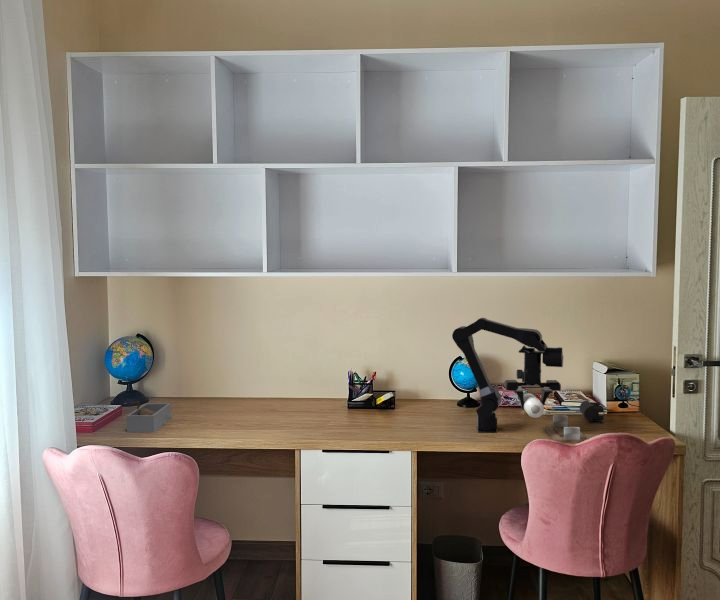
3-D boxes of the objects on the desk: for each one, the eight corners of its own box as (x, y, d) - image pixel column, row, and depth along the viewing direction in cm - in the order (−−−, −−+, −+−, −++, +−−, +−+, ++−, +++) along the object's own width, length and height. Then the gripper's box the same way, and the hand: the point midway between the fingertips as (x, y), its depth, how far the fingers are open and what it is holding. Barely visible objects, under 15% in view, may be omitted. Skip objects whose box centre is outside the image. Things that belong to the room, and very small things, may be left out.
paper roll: (525, 416, 242) (528, 399, 242) (518, 408, 255) (521, 391, 254) (542, 419, 242) (545, 402, 242) (535, 410, 255) (538, 394, 254)
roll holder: (555, 442, 239) (556, 428, 238) (544, 428, 257) (544, 415, 256) (588, 442, 238) (588, 428, 238) (574, 428, 256) (575, 415, 256)
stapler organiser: (126, 432, 255) (126, 415, 254) (146, 418, 275) (145, 403, 274) (154, 432, 254) (153, 415, 254) (171, 418, 274) (170, 403, 274)
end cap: (579, 417, 274) (579, 400, 274) (598, 417, 273) (598, 400, 273) (584, 423, 264) (584, 405, 264) (603, 424, 263) (604, 406, 263)
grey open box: (125, 424, 264) (125, 401, 264) (131, 421, 269) (131, 399, 268) (158, 427, 261) (158, 404, 260) (164, 424, 265) (164, 401, 264)
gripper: (554, 361, 255) (553, 404, 256) (502, 361, 256) (501, 404, 257) (561, 367, 244) (560, 411, 245) (507, 367, 244) (506, 411, 246)
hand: (531, 409), depth 248 cm, fingers closed on paper roll, 6 cm apart
